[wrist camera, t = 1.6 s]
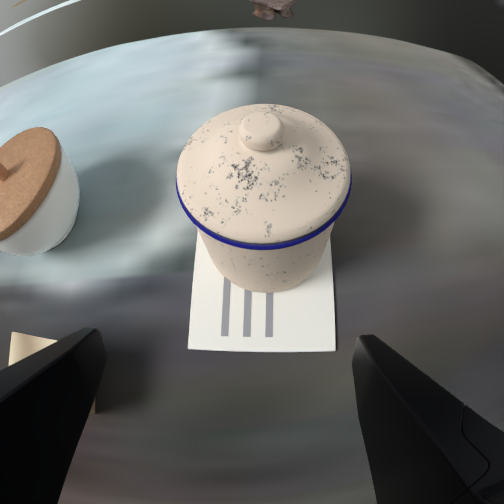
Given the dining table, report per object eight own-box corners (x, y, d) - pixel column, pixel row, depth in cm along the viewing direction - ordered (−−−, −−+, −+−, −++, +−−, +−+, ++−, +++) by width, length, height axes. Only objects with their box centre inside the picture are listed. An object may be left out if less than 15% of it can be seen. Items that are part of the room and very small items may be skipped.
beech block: (98, 351, 21) (61, 341, 17) (95, 413, 19) (56, 417, 15) (51, 343, 22) (12, 331, 17) (47, 400, 20) (7, 398, 15)
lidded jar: (62, 291, 23) (-13, 247, 15) (2, 252, 25) (-58, 210, 17) (117, 186, 27) (71, 116, 18) (50, 168, 29) (5, 113, 20)
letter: (334, 350, 20) (335, 350, 20) (188, 349, 21) (188, 348, 21) (325, 197, 25) (326, 196, 25) (202, 198, 26) (201, 196, 25)
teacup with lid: (349, 262, 22) (406, 162, 12) (236, 319, 21) (201, 254, 11) (273, 148, 27) (272, 33, 16) (177, 189, 26) (129, 80, 15)
